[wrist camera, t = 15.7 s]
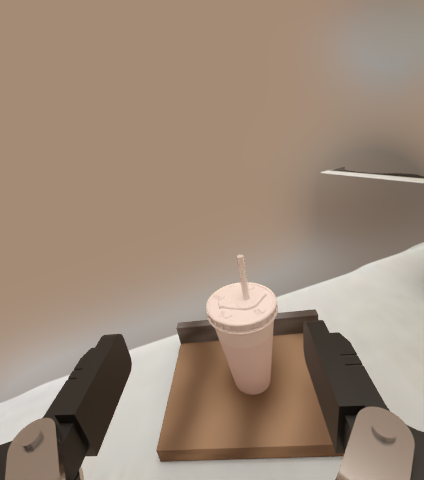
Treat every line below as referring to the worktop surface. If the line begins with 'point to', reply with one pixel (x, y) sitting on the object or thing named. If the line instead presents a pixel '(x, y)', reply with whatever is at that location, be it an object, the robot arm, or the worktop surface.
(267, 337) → the smoothie
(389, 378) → the worktop surface
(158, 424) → the worktop surface
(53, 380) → the worktop surface
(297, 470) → the worktop surface
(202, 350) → the shelf board
